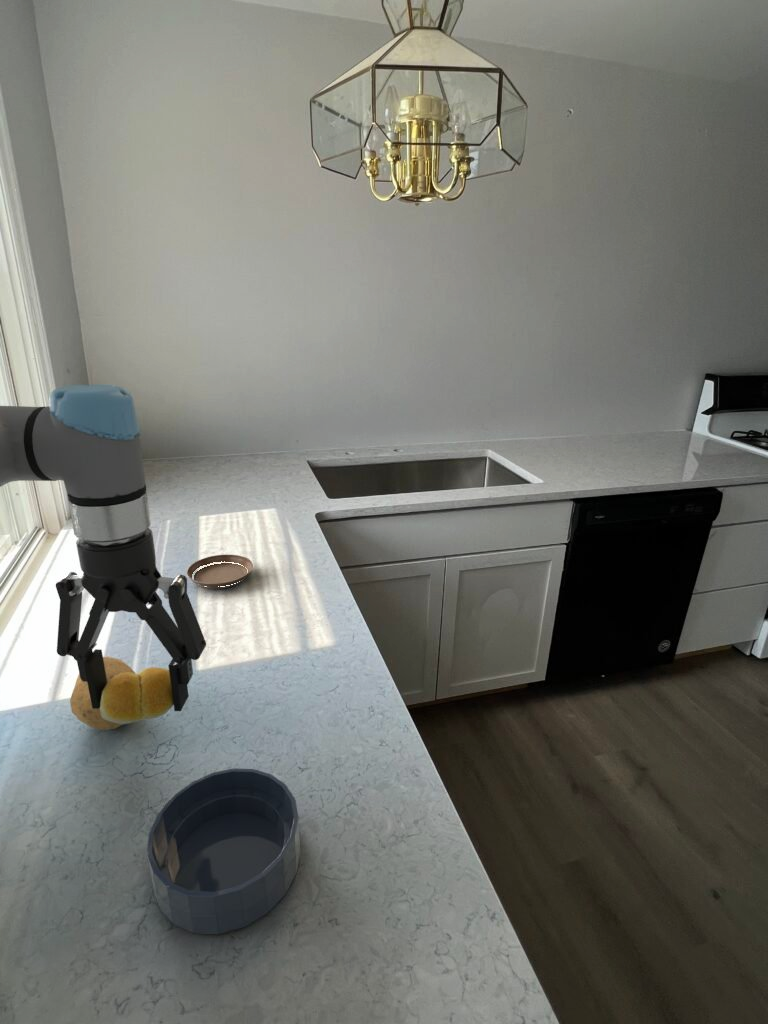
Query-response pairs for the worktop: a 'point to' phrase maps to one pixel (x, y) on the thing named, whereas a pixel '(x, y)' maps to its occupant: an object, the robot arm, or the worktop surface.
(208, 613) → the worktop surface
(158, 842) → the blue grey bowl
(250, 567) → the saucer
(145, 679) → the bread roll
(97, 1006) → the worktop surface
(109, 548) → the robot arm
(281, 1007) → the worktop surface
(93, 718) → the potato
